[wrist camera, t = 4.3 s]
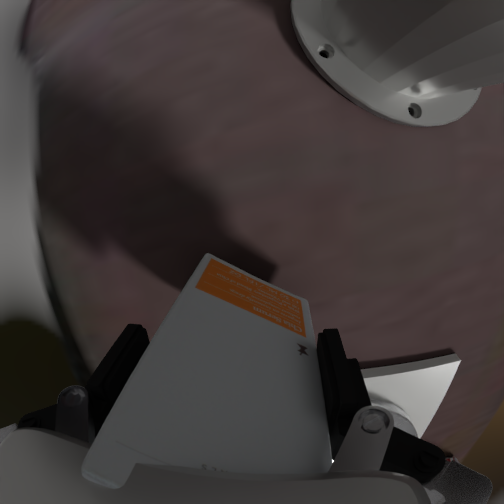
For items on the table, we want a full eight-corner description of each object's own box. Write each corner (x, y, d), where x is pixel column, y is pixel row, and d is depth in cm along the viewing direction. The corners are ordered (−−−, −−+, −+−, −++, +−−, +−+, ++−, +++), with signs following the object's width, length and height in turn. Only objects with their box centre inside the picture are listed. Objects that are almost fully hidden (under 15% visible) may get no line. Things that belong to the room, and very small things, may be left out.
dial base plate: (140, 367, 19) (135, 377, 18) (455, 353, 18) (461, 361, 17) (195, 494, 27) (194, 501, 26) (379, 486, 26) (381, 493, 25)
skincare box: (310, 297, 15) (349, 533, 4) (272, 352, 16) (263, 554, 5) (204, 246, 14) (73, 471, 3) (177, 310, 16) (81, 503, 5)
